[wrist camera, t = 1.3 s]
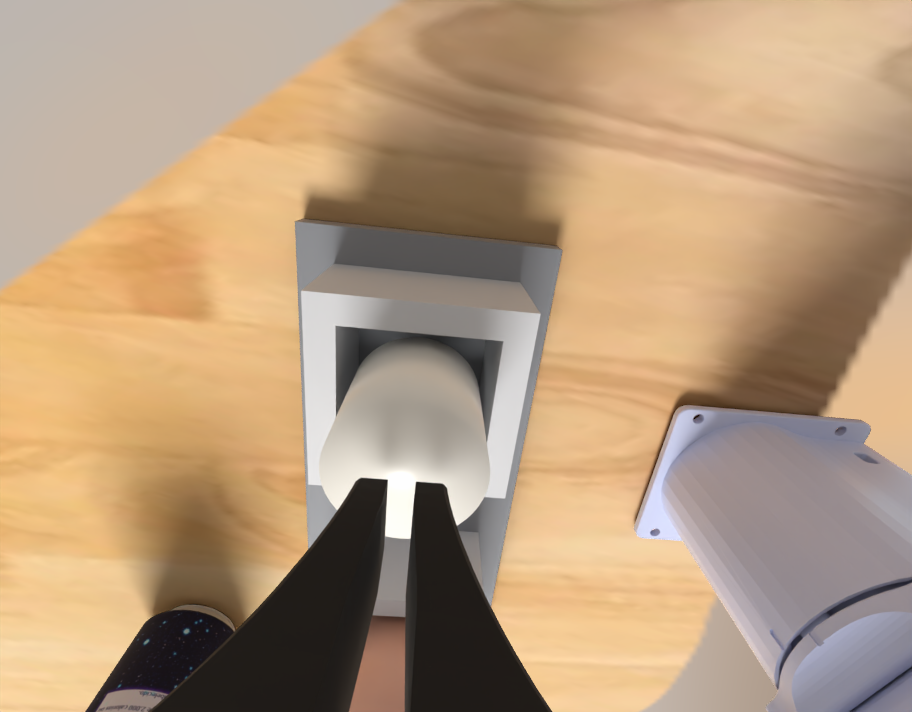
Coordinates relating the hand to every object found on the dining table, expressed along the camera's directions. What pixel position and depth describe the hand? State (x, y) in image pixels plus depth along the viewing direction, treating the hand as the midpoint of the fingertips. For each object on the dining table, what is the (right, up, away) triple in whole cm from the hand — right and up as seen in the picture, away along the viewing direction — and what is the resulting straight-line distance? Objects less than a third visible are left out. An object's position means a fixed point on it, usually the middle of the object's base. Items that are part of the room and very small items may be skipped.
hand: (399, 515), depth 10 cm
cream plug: (0, +2, +5) cm, 6 cm away
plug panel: (-1, -2, +12) cm, 12 cm away
